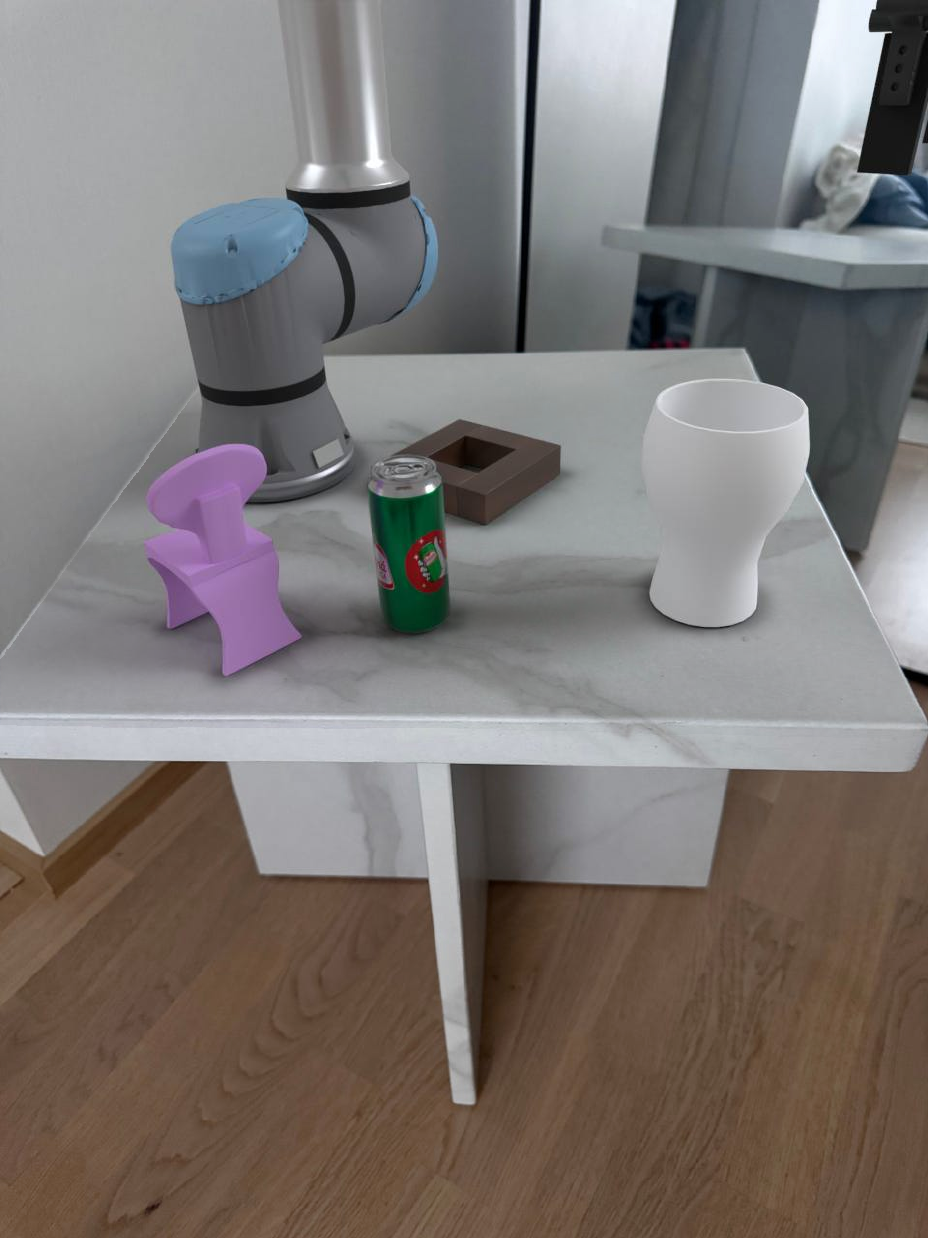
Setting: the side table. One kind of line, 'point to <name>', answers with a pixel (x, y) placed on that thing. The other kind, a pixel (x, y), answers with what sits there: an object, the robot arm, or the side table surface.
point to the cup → (719, 491)
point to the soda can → (409, 542)
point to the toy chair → (219, 553)
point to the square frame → (487, 467)
